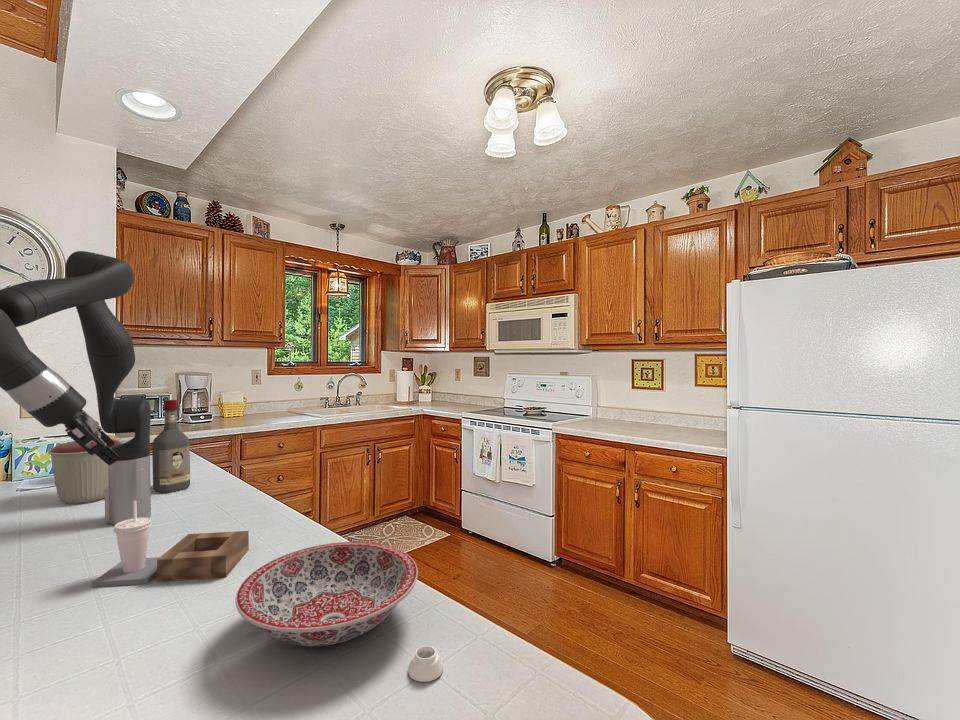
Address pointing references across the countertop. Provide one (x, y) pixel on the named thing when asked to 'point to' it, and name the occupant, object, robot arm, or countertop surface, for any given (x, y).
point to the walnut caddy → (203, 556)
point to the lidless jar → (425, 664)
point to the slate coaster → (128, 575)
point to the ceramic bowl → (326, 592)
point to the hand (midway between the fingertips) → (112, 453)
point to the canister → (79, 473)
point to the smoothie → (133, 541)
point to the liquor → (171, 454)
